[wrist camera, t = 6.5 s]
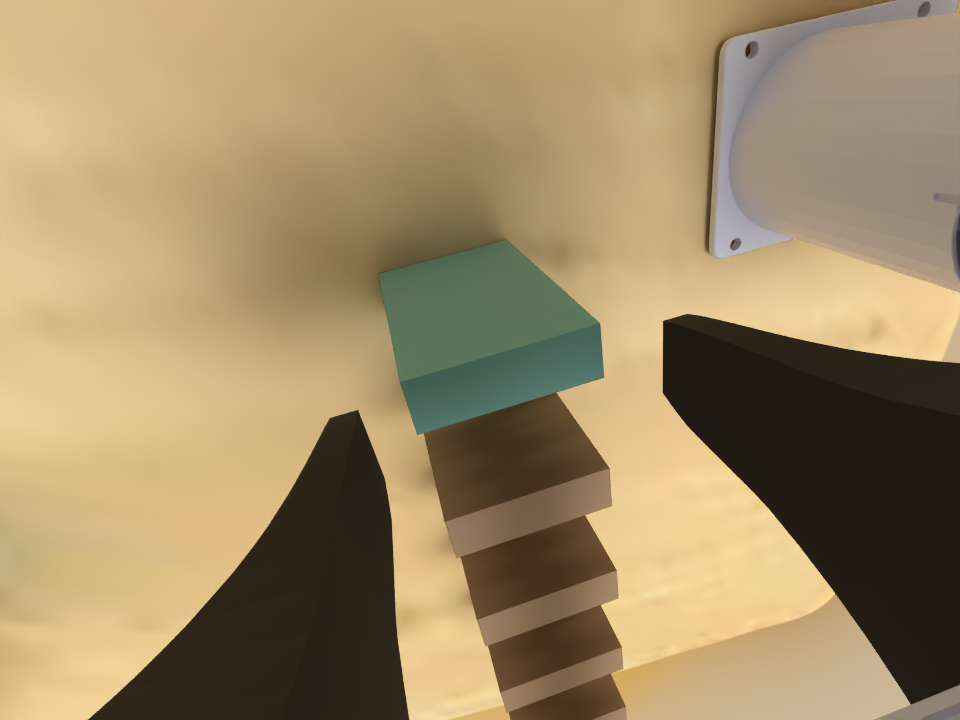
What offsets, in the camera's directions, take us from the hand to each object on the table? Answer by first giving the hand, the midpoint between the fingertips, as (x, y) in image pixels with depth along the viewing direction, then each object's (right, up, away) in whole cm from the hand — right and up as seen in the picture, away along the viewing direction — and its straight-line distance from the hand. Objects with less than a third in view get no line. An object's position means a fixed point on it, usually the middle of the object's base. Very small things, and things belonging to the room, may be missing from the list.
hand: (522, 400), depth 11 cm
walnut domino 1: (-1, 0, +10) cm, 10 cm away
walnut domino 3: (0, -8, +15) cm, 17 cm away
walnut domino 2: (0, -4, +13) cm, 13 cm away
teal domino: (-2, +4, +8) cm, 9 cm away
